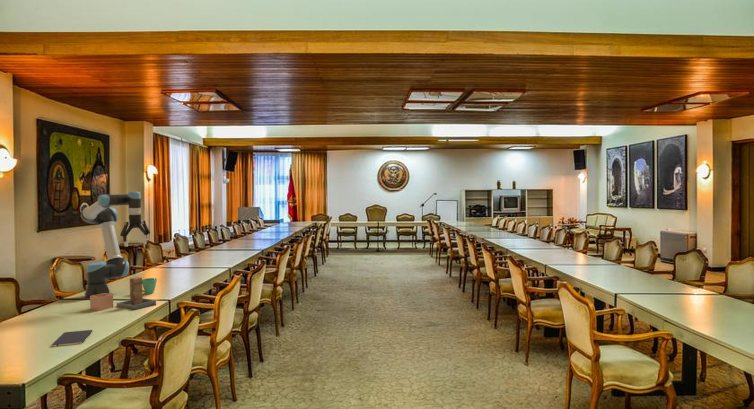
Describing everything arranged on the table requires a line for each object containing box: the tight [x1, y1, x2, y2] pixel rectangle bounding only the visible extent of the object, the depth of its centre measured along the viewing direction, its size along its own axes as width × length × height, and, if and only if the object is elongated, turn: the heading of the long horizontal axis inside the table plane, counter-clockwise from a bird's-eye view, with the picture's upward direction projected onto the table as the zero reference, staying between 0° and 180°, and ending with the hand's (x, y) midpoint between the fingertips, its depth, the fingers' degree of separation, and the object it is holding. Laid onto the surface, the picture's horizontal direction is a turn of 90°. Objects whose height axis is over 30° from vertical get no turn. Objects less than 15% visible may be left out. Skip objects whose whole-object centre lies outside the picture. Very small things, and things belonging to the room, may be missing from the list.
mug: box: [142, 277, 158, 295], centre depth 346 cm, size 15×10×10 cm
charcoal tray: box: [116, 298, 157, 312], centre depth 307 cm, size 16×16×3 cm
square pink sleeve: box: [89, 293, 114, 311], centre depth 300 cm, size 9×9×9 cm
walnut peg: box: [129, 276, 143, 305], centre depth 307 cm, size 5×5×17 cm
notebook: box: [51, 329, 93, 347], centre depth 241 cm, size 13×2×21 cm
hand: (135, 245), depth 332 cm, fingers open, 13 cm apart
